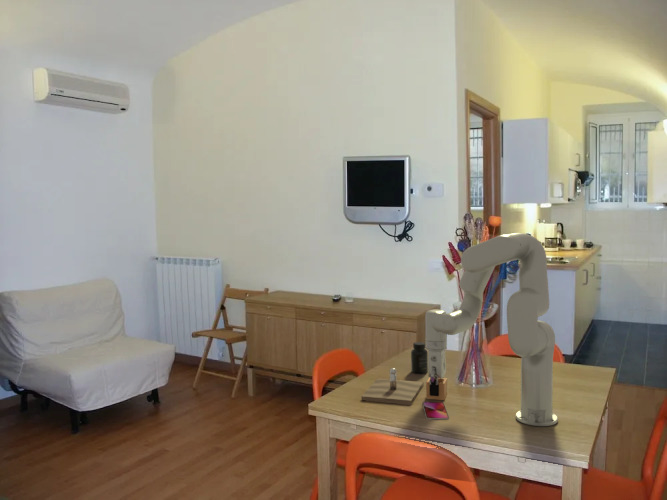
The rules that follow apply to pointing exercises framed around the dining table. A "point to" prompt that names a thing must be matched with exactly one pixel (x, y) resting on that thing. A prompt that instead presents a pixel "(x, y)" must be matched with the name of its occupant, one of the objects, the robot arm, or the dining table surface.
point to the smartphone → (435, 411)
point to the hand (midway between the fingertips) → (436, 391)
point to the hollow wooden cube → (442, 389)
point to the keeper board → (393, 392)
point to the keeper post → (393, 379)
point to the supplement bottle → (419, 358)
